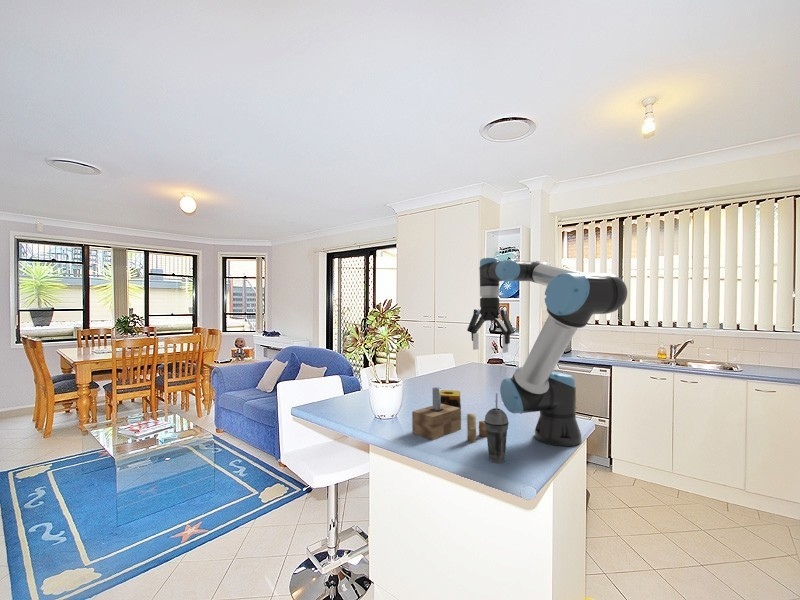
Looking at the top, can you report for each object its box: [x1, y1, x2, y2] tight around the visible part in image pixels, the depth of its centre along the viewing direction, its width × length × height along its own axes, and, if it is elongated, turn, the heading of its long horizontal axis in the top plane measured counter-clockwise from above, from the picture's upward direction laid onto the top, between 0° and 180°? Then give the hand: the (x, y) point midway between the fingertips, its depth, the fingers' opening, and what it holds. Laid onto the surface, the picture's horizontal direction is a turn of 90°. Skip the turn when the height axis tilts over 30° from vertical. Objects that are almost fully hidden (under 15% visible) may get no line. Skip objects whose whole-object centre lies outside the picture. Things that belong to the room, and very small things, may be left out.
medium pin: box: [466, 413, 477, 443], centre depth 134 cm, size 3×3×9 cm
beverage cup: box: [483, 393, 510, 464], centre depth 118 cm, size 7×7×20 cm
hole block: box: [411, 404, 462, 441], centre depth 144 cm, size 10×16×8 cm, turn 134°
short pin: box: [478, 420, 487, 438], centre depth 139 cm, size 3×3×5 cm
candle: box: [441, 389, 462, 409], centre depth 163 cm, size 10×10×10 cm
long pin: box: [432, 387, 442, 412], centre depth 145 cm, size 3×3×16 cm
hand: (490, 350), depth 153 cm, fingers open, 13 cm apart
